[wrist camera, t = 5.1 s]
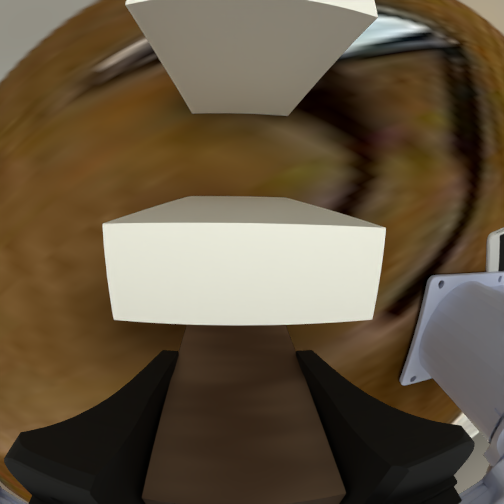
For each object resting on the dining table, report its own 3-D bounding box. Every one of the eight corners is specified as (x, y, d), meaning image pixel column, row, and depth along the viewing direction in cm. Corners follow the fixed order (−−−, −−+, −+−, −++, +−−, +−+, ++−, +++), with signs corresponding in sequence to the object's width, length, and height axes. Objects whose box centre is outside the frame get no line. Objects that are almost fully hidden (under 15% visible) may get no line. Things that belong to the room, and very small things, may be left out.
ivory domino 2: (285, 197, 13) (386, 227, 4) (284, 231, 13) (372, 319, 5) (189, 196, 13) (102, 224, 4) (190, 230, 13) (113, 320, 4)
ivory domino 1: (288, 85, 12) (365, -34, 3) (287, 116, 12) (377, 17, 3) (194, 83, 11) (143, -46, 3) (192, 113, 12) (125, 5, 3)
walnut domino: (283, 320, 13) (346, 493, 4) (281, 348, 13) (330, 516, 4) (188, 319, 13) (142, 497, 4) (190, 348, 13) (157, 520, 4)
